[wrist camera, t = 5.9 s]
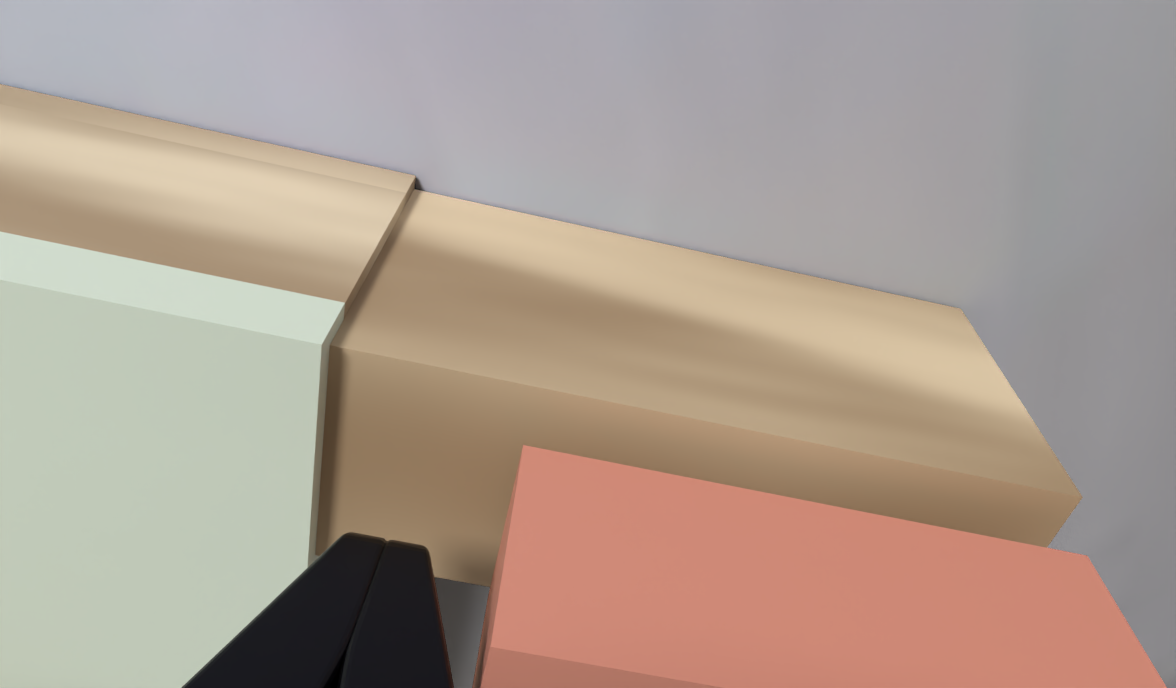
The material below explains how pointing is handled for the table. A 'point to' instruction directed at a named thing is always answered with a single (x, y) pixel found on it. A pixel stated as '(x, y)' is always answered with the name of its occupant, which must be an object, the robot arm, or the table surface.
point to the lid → (149, 462)
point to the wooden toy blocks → (544, 341)
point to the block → (777, 594)
